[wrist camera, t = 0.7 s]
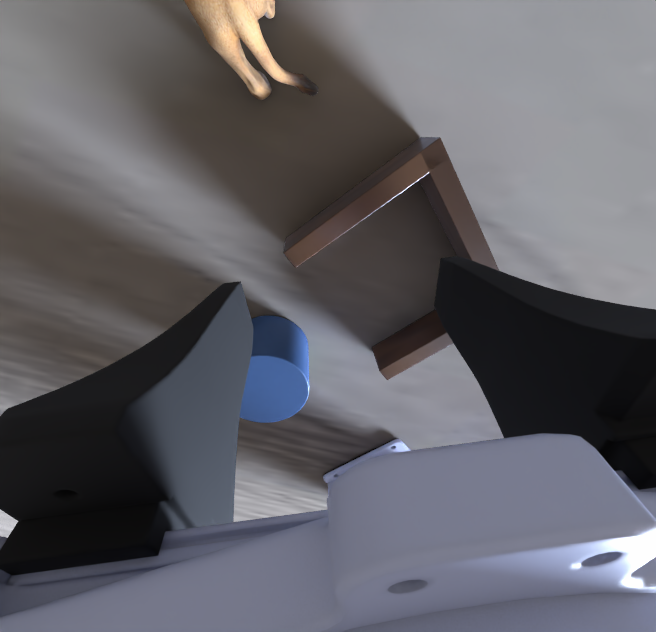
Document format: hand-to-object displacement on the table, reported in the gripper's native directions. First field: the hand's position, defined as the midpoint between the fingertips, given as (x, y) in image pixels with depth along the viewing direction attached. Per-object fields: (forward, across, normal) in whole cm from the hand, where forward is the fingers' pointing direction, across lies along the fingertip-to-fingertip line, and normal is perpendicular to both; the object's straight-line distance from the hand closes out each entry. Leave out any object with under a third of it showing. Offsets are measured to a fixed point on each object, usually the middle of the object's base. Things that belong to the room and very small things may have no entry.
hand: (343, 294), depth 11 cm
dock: (+10, -4, +5) cm, 12 cm away
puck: (+10, +5, +10) cm, 15 cm away
